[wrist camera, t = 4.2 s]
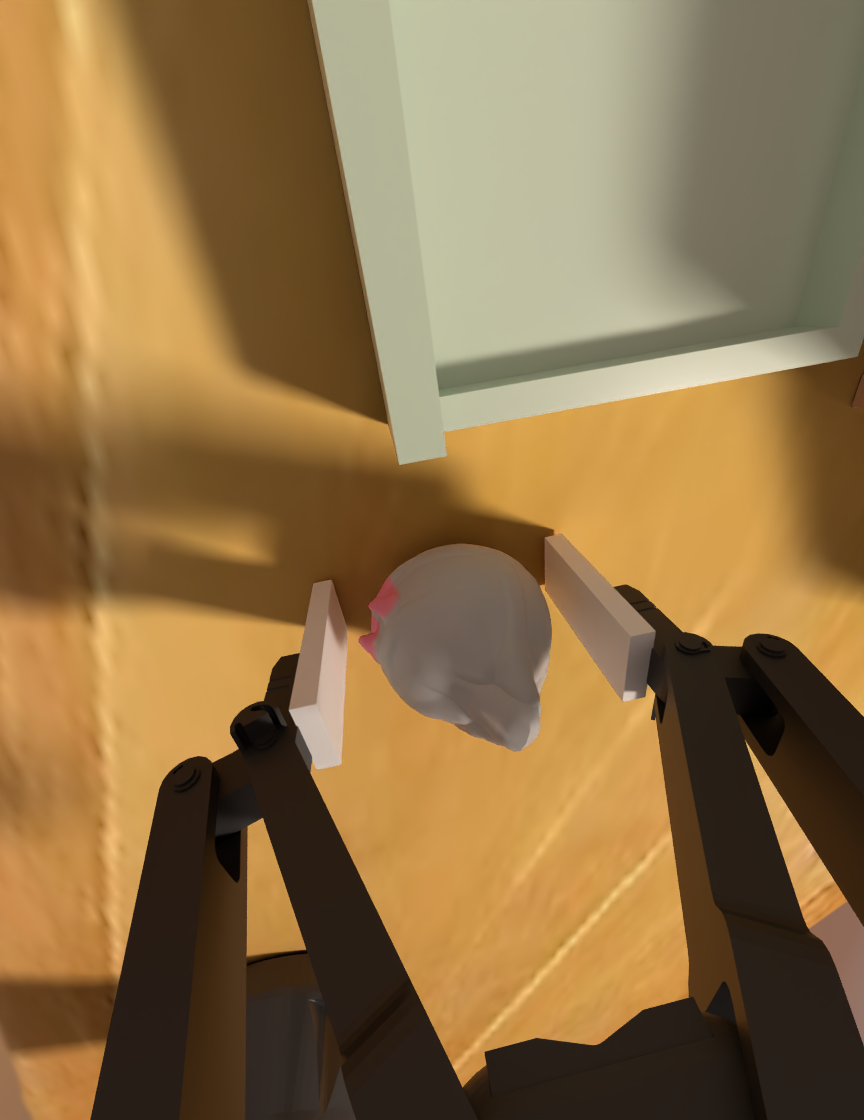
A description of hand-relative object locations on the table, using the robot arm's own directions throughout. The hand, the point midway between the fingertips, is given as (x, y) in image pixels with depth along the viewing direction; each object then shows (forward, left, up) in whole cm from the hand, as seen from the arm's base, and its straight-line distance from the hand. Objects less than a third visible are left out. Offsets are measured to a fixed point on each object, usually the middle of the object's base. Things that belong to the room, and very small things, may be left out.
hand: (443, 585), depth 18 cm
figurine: (0, 0, 0) cm, 0 cm away
